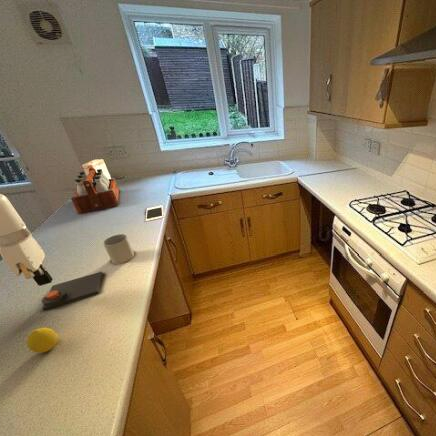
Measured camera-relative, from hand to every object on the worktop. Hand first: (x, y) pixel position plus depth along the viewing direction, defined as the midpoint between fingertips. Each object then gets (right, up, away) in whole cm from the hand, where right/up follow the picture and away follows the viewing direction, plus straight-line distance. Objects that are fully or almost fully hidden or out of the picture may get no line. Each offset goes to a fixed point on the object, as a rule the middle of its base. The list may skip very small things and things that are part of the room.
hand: (46, 282), depth 78 cm
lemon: (+12, -16, -10) cm, 23 cm away
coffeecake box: (-66, +46, +108) cm, 135 cm away
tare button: (0, -6, +3) cm, 6 cm away
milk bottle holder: (-47, +32, +82) cm, 100 cm away
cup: (+7, +3, +26) cm, 27 cm away
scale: (+2, -6, +9) cm, 11 cm away
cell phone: (0, +24, +63) cm, 67 cm away
